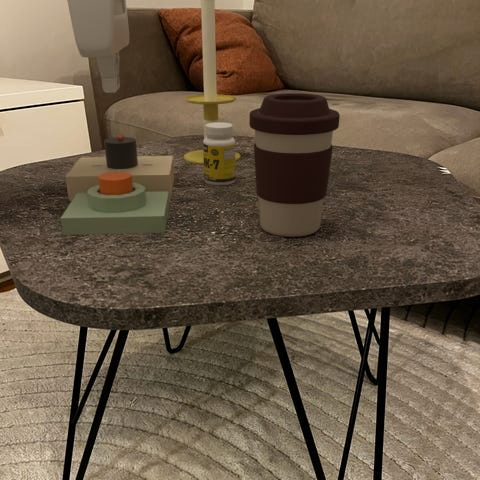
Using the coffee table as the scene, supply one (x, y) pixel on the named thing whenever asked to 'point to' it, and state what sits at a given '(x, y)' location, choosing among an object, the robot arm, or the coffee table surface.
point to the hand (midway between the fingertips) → (111, 91)
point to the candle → (208, 78)
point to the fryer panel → (145, 173)
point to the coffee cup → (292, 161)
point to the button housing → (116, 212)
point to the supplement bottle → (219, 154)
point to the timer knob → (121, 152)
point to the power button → (115, 183)
